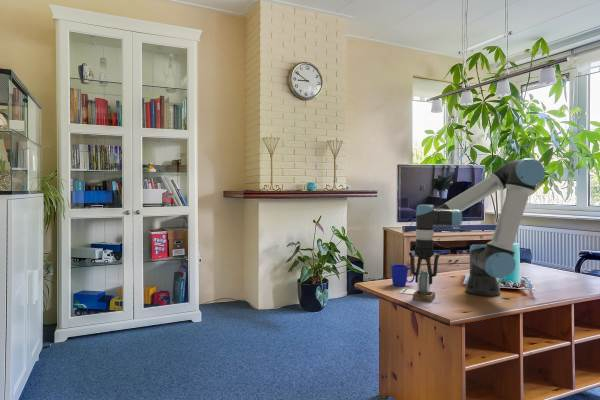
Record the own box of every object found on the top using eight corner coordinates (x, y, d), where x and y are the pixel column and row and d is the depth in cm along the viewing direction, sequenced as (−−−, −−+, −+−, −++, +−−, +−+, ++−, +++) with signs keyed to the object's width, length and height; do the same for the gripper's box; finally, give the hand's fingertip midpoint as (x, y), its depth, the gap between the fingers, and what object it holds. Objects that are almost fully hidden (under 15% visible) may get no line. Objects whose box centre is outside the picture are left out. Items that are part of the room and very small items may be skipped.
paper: (433, 292, 190) (433, 291, 190) (429, 296, 182) (429, 296, 182) (404, 289, 197) (404, 288, 197) (399, 293, 189) (399, 292, 189)
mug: (415, 287, 199) (416, 268, 199) (391, 286, 202) (391, 267, 201) (414, 284, 207) (414, 265, 207) (390, 283, 210) (391, 264, 210)
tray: (434, 297, 180) (435, 292, 180) (431, 302, 173) (431, 296, 173) (417, 295, 184) (417, 289, 184) (412, 299, 177) (413, 293, 177)
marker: (428, 296, 180) (428, 270, 180) (427, 298, 177) (427, 272, 176) (420, 296, 181) (420, 270, 181) (419, 297, 178) (419, 271, 178)
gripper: (445, 239, 178) (444, 291, 178) (408, 236, 186) (407, 286, 186) (442, 241, 171) (441, 295, 171) (404, 238, 179) (403, 290, 180)
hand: (423, 290), depth 179 cm, fingers closed on marker, 3 cm apart
